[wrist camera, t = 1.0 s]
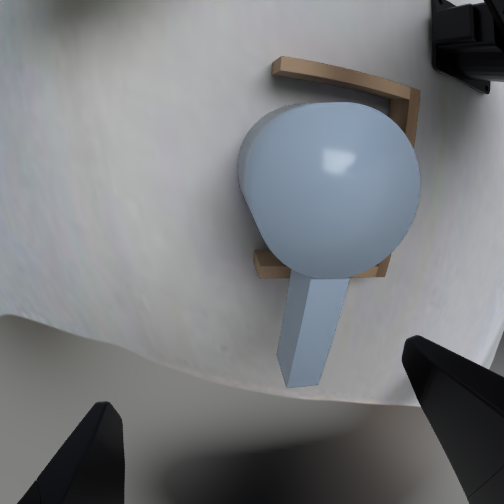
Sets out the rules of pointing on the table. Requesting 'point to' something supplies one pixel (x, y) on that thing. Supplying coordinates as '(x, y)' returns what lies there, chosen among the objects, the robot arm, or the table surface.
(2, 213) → the table surface
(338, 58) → the table surface
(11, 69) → the table surface
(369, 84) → the holder
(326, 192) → the blue scoop
